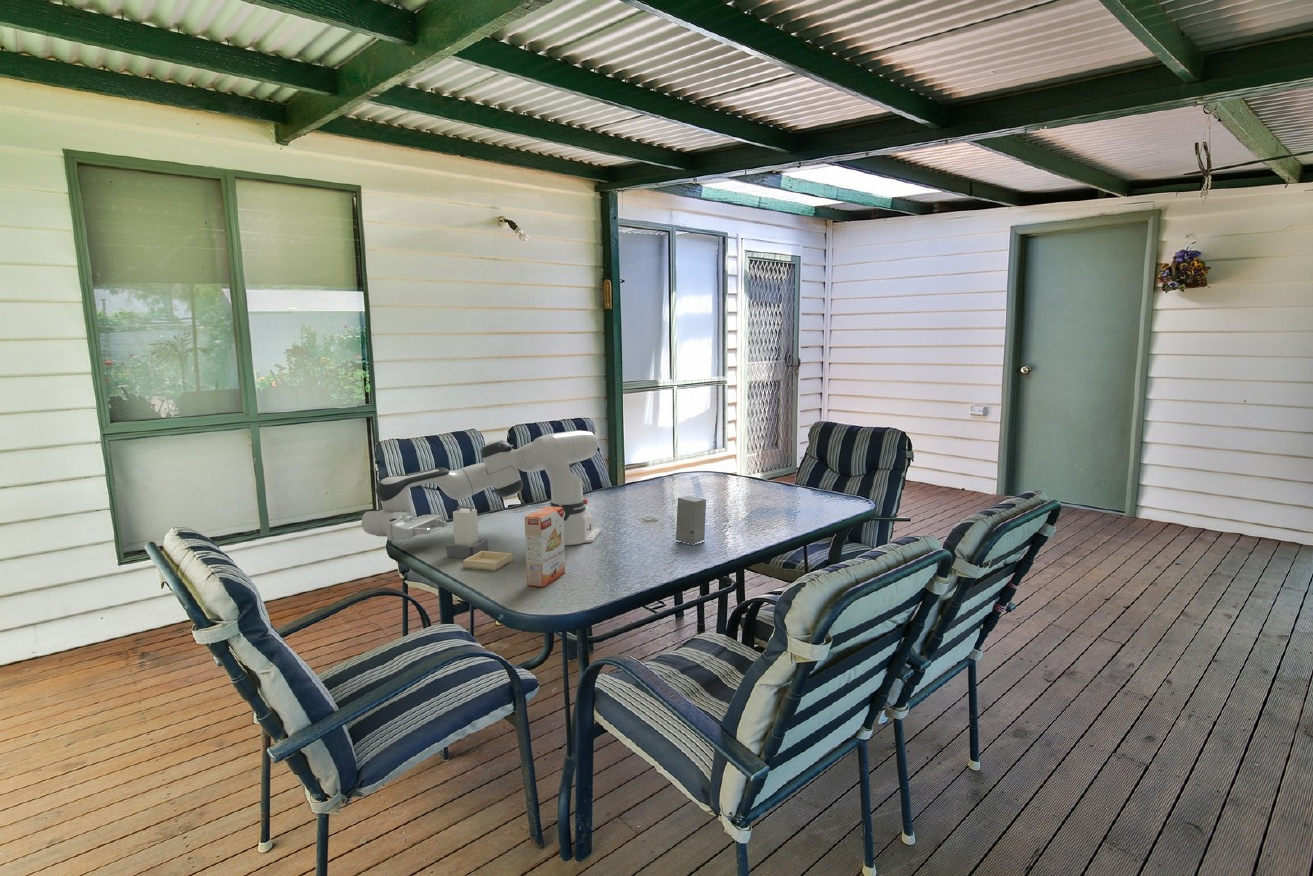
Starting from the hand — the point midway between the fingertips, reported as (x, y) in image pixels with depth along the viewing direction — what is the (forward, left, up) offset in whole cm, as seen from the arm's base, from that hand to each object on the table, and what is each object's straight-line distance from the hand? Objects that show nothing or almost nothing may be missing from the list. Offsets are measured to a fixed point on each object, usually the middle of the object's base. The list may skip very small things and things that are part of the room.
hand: (437, 527), depth 241 cm
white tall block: (0, +11, -8) cm, 14 cm away
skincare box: (-33, +80, -9) cm, 87 cm away
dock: (0, +11, -8) cm, 14 cm away
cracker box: (+16, +49, -9) cm, 53 cm away
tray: (+8, +24, -8) cm, 27 cm away
